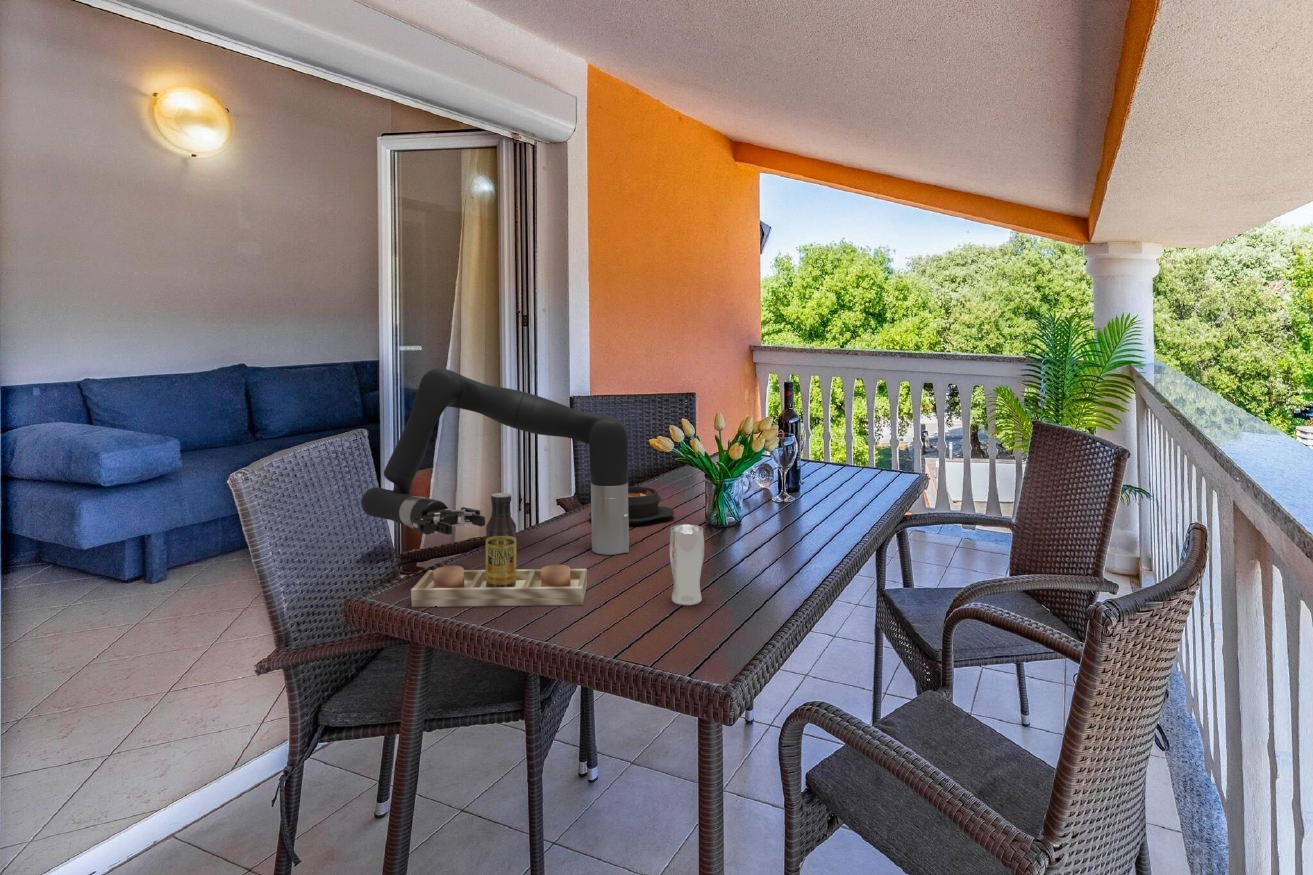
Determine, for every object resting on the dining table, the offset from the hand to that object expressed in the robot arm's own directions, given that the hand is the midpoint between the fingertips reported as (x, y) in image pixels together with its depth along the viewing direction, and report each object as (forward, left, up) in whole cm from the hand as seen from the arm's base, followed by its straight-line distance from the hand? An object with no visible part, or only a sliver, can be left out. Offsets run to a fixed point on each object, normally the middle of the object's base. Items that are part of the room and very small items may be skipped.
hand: (467, 525), depth 156 cm
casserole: (-34, -54, -13) cm, 65 cm away
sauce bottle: (-8, +7, -12) cm, 16 cm away
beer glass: (-47, +11, -13) cm, 50 cm away
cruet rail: (-9, +7, -13) cm, 17 cm away
